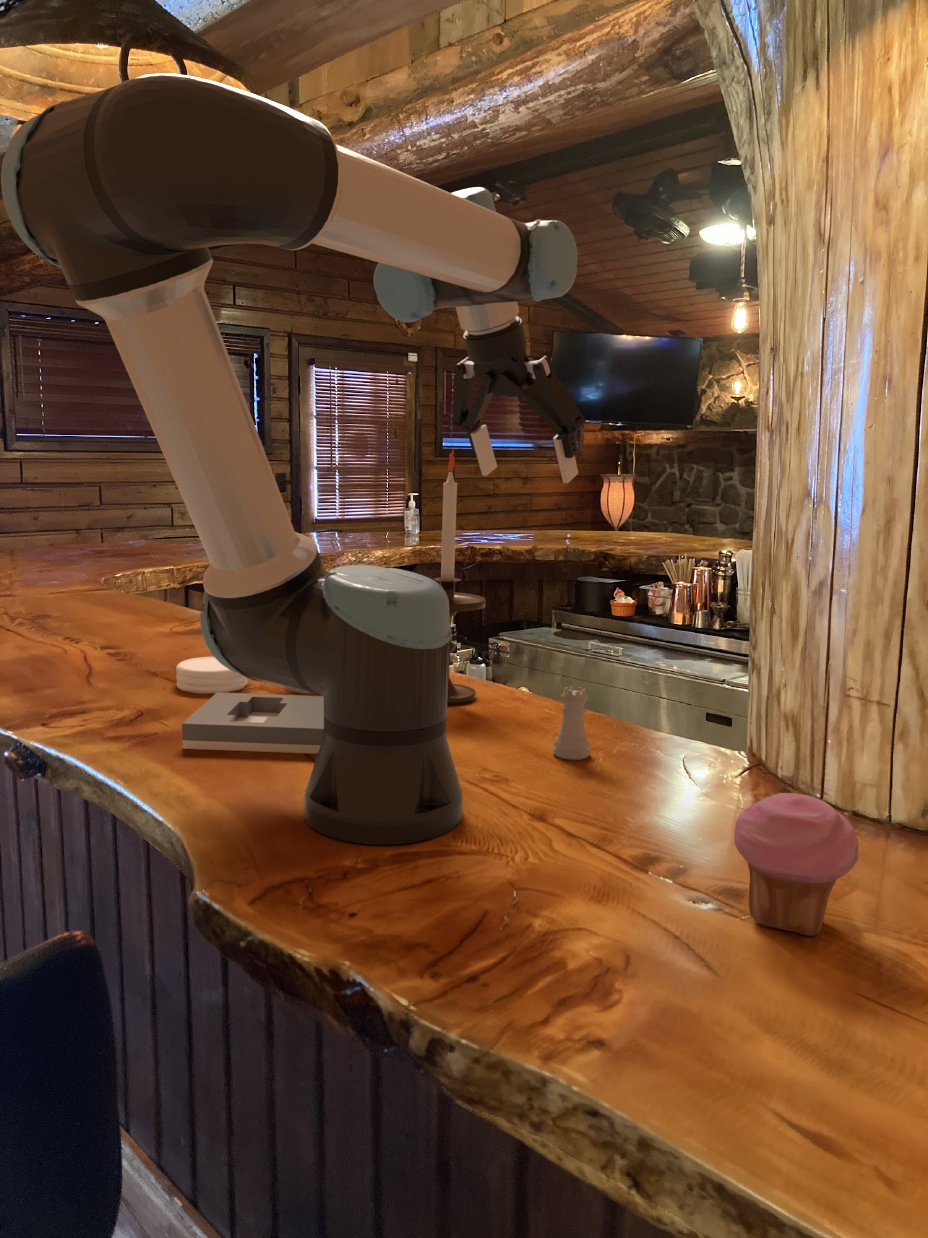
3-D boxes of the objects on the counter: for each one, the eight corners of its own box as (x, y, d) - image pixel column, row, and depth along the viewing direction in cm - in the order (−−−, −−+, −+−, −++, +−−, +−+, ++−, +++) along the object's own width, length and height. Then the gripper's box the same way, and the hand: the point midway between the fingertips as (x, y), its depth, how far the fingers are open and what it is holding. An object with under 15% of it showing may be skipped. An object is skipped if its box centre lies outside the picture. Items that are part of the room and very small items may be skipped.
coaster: (256, 680, 139) (256, 657, 139) (233, 697, 129) (233, 672, 129) (192, 676, 140) (192, 654, 140) (165, 693, 130) (164, 669, 130)
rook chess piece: (551, 748, 111) (554, 683, 109) (588, 750, 111) (592, 685, 109) (553, 760, 106) (557, 693, 105) (592, 762, 106) (596, 695, 105)
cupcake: (719, 933, 69) (730, 805, 67) (735, 885, 77) (745, 770, 75) (847, 962, 65) (863, 829, 63) (851, 909, 73) (864, 789, 71)
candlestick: (428, 684, 139) (434, 448, 133) (494, 694, 135) (503, 450, 129) (392, 700, 130) (396, 447, 124) (461, 711, 125) (469, 449, 119)
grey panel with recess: (408, 757, 106) (409, 689, 104) (182, 748, 106) (181, 681, 105) (416, 722, 120) (418, 662, 118) (217, 714, 120) (216, 654, 119)
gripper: (592, 307, 109) (622, 467, 121) (434, 315, 125) (474, 456, 136) (559, 332, 105) (593, 495, 116) (399, 337, 120) (443, 481, 132)
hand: (529, 474), depth 126 cm, fingers open, 13 cm apart
